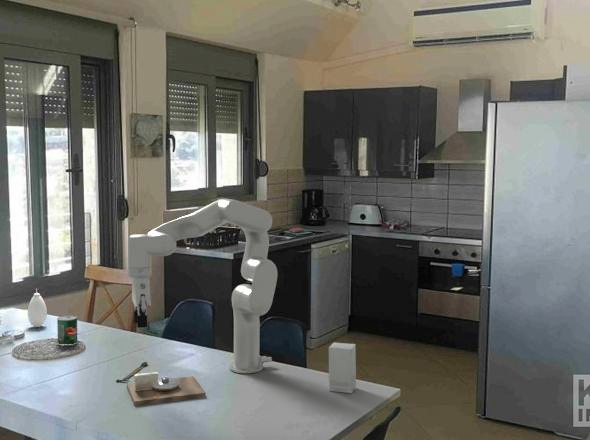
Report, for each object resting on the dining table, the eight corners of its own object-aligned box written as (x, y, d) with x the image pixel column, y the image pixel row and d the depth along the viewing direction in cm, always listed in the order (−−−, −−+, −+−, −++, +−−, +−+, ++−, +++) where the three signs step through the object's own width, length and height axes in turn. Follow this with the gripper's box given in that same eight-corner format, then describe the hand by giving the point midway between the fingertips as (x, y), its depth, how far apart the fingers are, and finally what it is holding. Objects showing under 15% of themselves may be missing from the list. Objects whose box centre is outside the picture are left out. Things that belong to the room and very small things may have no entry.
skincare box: (356, 387, 235) (357, 343, 234) (351, 394, 229) (352, 349, 228) (332, 384, 238) (333, 341, 236) (327, 391, 232) (328, 346, 230)
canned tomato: (74, 346, 279) (73, 320, 278) (54, 346, 279) (54, 319, 278) (80, 341, 287) (79, 315, 286) (61, 340, 287) (61, 315, 286)
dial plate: (193, 380, 241) (193, 375, 241) (205, 396, 225) (205, 392, 225) (126, 388, 232) (126, 383, 232) (134, 405, 217) (134, 400, 216)
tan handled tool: (132, 387, 237) (132, 384, 236) (115, 383, 238) (115, 380, 238) (159, 367, 257) (159, 364, 257) (142, 364, 258) (143, 361, 258)
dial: (175, 380, 235) (175, 366, 234) (181, 389, 227) (181, 374, 226) (132, 385, 229) (132, 370, 229) (137, 394, 221) (136, 379, 221)
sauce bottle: (24, 328, 304) (23, 289, 302) (34, 324, 312) (33, 285, 310) (41, 329, 303) (40, 290, 301) (50, 325, 311) (49, 286, 309)
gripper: (156, 275, 221) (156, 330, 223) (147, 266, 237) (147, 317, 239) (132, 277, 218) (133, 332, 220) (124, 267, 234) (125, 319, 236)
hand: (140, 324), depth 229 cm, fingers open, 5 cm apart
